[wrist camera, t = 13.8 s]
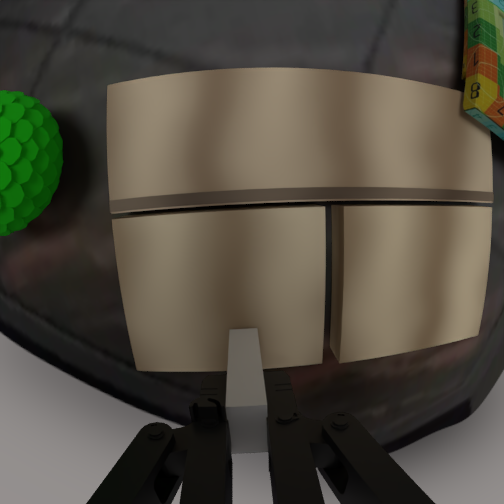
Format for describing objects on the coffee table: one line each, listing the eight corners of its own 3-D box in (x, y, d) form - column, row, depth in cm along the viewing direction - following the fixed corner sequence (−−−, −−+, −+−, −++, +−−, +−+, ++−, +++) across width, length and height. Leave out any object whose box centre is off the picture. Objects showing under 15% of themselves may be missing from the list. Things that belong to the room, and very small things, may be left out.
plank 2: (329, 346, 20) (339, 363, 17) (331, 204, 18) (343, 206, 16) (460, 324, 20) (477, 335, 18) (471, 205, 18) (491, 207, 16)
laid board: (126, 209, 18) (110, 214, 15) (122, 95, 16) (106, 84, 14) (471, 199, 18) (493, 202, 16) (465, 104, 17) (487, 98, 14)
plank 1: (146, 352, 19) (137, 370, 17) (126, 215, 18) (111, 219, 15) (313, 345, 20) (322, 363, 18) (314, 204, 18) (325, 206, 16)
